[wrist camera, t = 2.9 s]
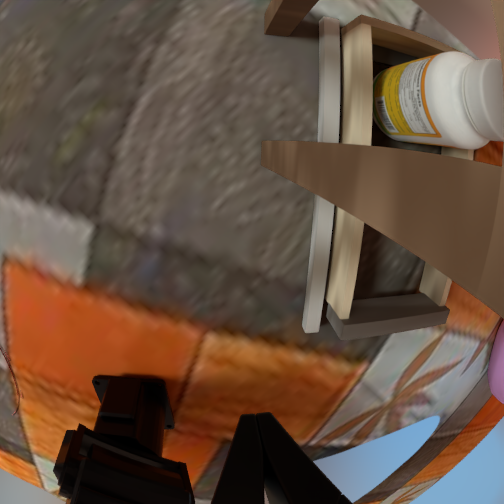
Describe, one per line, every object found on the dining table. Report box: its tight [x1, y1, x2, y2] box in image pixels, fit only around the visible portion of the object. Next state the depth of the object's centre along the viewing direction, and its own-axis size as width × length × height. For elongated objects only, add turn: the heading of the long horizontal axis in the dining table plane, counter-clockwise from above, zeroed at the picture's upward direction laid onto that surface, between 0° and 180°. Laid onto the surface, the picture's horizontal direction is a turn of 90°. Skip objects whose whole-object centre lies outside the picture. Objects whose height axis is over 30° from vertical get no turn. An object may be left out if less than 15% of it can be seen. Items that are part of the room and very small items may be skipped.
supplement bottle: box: [372, 51, 504, 150], centre depth 13 cm, size 5×5×10 cm
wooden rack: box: [325, 15, 474, 341], centre depth 17 cm, size 20×9×4 cm, turn 178°
